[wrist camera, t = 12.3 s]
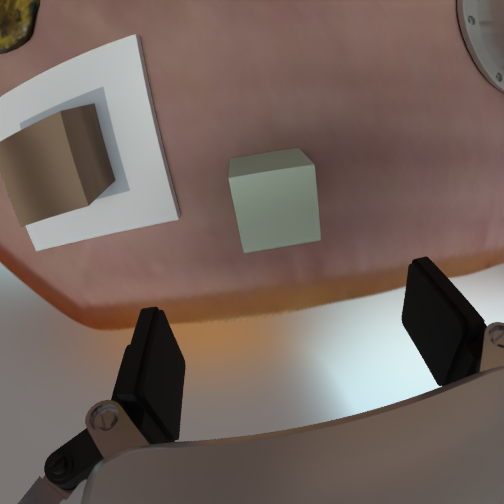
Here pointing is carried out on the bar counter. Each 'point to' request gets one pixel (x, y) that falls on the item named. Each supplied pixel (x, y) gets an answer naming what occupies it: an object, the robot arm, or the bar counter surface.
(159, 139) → the board
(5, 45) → the olive brown ornament
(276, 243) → the sage cube
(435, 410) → the robot arm
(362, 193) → the bar counter surface
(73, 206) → the walnut block
